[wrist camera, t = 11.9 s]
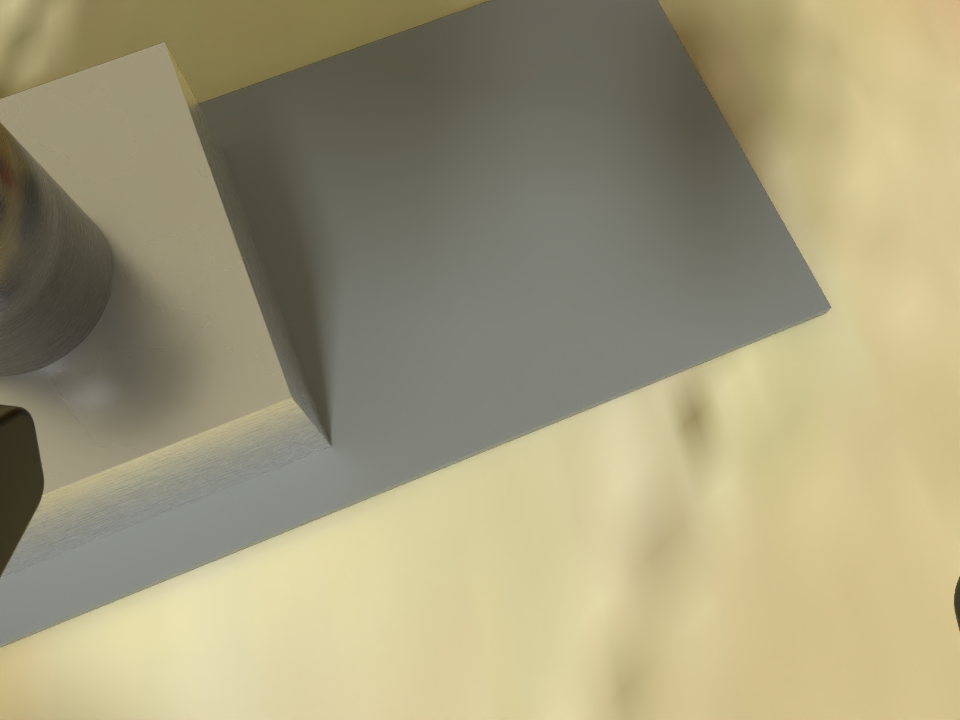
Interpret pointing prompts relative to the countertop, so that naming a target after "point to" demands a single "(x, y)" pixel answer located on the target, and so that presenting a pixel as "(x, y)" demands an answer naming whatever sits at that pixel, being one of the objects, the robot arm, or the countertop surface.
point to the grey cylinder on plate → (136, 307)
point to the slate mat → (468, 260)
